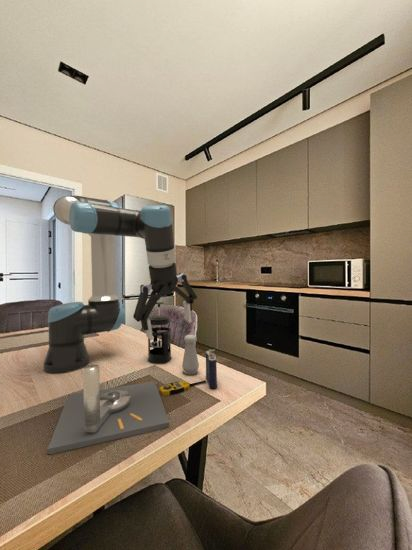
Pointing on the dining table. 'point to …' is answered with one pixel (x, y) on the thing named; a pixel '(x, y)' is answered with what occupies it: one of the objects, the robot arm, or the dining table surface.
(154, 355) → the french press
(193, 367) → the salt shaker
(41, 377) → the dining table surface
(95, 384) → the silver faucet
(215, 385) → the flask
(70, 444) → the plate
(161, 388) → the yellow walkie-talkie
